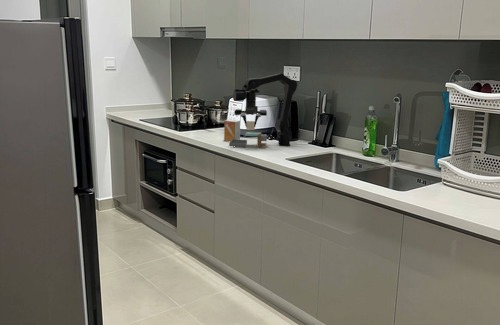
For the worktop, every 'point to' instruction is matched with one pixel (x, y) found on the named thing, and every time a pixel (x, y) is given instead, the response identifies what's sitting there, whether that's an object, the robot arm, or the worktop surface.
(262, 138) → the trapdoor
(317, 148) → the worktop surface
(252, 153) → the worktop surface
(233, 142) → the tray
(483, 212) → the worktop surface
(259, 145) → the frame
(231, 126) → the small box
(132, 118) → the worktop surface
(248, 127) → the stone
